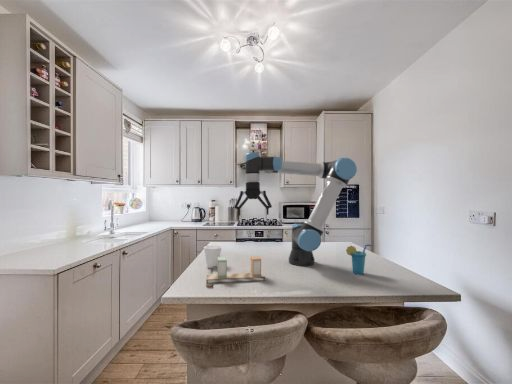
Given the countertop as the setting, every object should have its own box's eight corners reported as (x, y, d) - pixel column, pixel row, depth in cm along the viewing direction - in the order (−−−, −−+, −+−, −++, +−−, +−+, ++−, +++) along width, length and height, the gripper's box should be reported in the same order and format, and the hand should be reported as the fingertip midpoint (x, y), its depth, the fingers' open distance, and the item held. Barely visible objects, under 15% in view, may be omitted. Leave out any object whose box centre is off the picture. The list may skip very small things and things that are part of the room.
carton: (225, 275, 126) (226, 256, 126) (226, 279, 120) (226, 260, 120) (217, 275, 125) (217, 257, 125) (217, 280, 119) (217, 260, 119)
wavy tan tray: (259, 275, 131) (259, 269, 131) (264, 283, 119) (264, 277, 119) (206, 277, 126) (206, 271, 126) (206, 286, 115) (206, 279, 115)
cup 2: (368, 270, 141) (368, 242, 141) (376, 275, 133) (376, 245, 133) (343, 271, 139) (343, 243, 139) (350, 276, 131) (351, 245, 131)
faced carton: (258, 274, 128) (258, 255, 128) (261, 278, 122) (261, 259, 122) (250, 274, 128) (250, 256, 128) (252, 278, 122) (252, 259, 122)
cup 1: (218, 270, 139) (218, 249, 139) (200, 268, 141) (200, 248, 141) (224, 265, 149) (224, 245, 149) (207, 263, 151) (207, 244, 151)
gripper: (273, 182, 147) (273, 219, 147) (228, 182, 142) (229, 221, 142) (277, 181, 140) (277, 221, 140) (230, 181, 135) (230, 222, 135)
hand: (253, 221), depth 141 cm, fingers open, 13 cm apart
